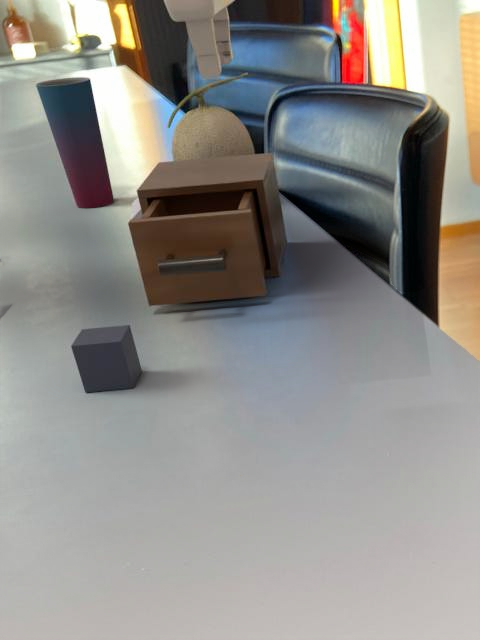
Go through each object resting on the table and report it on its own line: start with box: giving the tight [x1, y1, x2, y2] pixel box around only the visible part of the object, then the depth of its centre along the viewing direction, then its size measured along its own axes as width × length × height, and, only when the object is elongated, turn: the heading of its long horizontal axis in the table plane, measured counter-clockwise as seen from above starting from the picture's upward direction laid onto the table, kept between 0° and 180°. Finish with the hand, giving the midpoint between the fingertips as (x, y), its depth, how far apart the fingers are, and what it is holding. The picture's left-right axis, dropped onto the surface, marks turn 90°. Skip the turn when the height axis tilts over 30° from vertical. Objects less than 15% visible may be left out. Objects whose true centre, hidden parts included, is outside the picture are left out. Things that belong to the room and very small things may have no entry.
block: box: [70, 324, 143, 394], centre depth 85 cm, size 4×4×4 cm
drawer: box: [127, 189, 268, 307], centre depth 100 cm, size 17×11×8 cm
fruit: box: [166, 72, 256, 161], centre depth 132 cm, size 10×12×15 cm
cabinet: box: [136, 152, 288, 279], centre depth 110 cm, size 14×13×10 cm
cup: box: [35, 76, 115, 209], centre depth 136 cm, size 7×7×15 cm
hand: (218, 70), depth 93 cm, fingers open, 8 cm apart
